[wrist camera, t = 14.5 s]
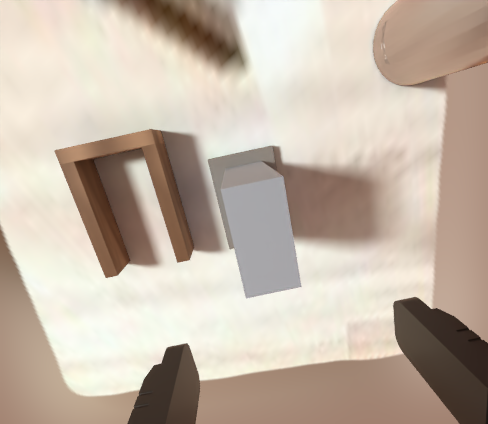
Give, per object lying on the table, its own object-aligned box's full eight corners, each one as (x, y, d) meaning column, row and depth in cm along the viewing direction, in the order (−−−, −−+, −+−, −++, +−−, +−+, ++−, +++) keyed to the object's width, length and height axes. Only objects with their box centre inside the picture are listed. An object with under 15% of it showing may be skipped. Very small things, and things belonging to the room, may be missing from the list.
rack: (160, 130, 31) (150, 129, 27) (194, 246, 35) (189, 259, 31) (76, 149, 31) (54, 150, 27) (119, 263, 35) (105, 278, 31)
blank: (261, 160, 32) (283, 176, 18) (273, 228, 34) (301, 286, 21) (225, 168, 32) (220, 189, 18) (240, 235, 34) (246, 298, 21)
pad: (271, 145, 32) (272, 145, 31) (286, 234, 35) (288, 236, 34) (208, 159, 32) (207, 160, 31) (229, 246, 35) (229, 249, 34)
